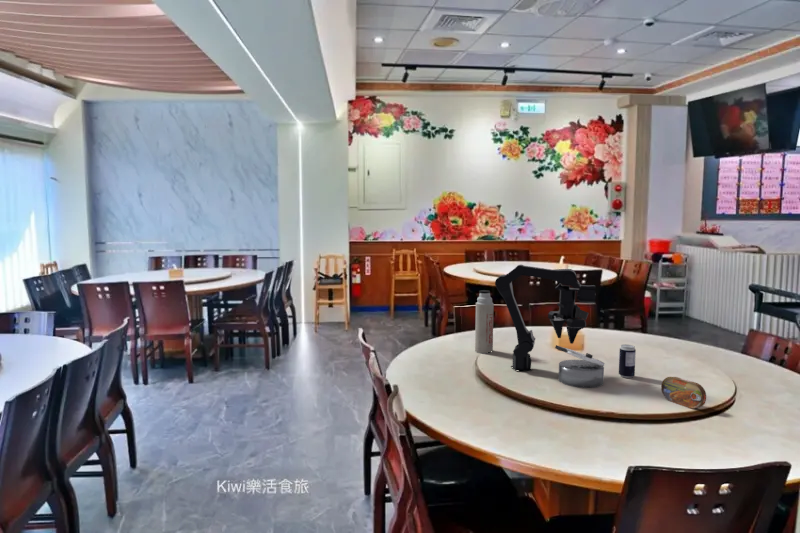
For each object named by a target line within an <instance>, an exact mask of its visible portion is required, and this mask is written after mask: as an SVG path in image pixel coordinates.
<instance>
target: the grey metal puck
mask: <svg viewBox="0 0 800 533" xmlns="http://www.w3.org/2000/svg"><path fill="white" fill-rule="evenodd" d="M604 372H605V367H604V366H600V365H596V364H593V363H590V362H588V361H585V360H582V359H567V360H566V359H565V360H561V361H559V362H558V379H559V380H558V382H559V383H561V382H562V384H564V385H567V386H569V387H575V388H582V389H583V388H585V389H592V388H599V387H602V386H603V385H604V376H605V375H604Z"/></svg>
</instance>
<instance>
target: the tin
mask: <svg viewBox="0 0 800 533" xmlns="http://www.w3.org/2000/svg"><path fill="white" fill-rule="evenodd" d="M660 388H661V393H662V395H663V397H664V398H665V399H666V400H667V401H669V402H671V403H674V404H676V405H680V406H682V407H685V408H689V409H693V410H694V409H698V408H701V407H703V406H704V405H705V403H706V402H707V392H706V390H705V388H704V386H702V385H701V384H699V383H698V382H696V381H693V380H692V381H691V380H688V379H685V378H681V377H678V376H667V377H665V378H664V379H663V380H662V382H661V385H660Z"/></svg>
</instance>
